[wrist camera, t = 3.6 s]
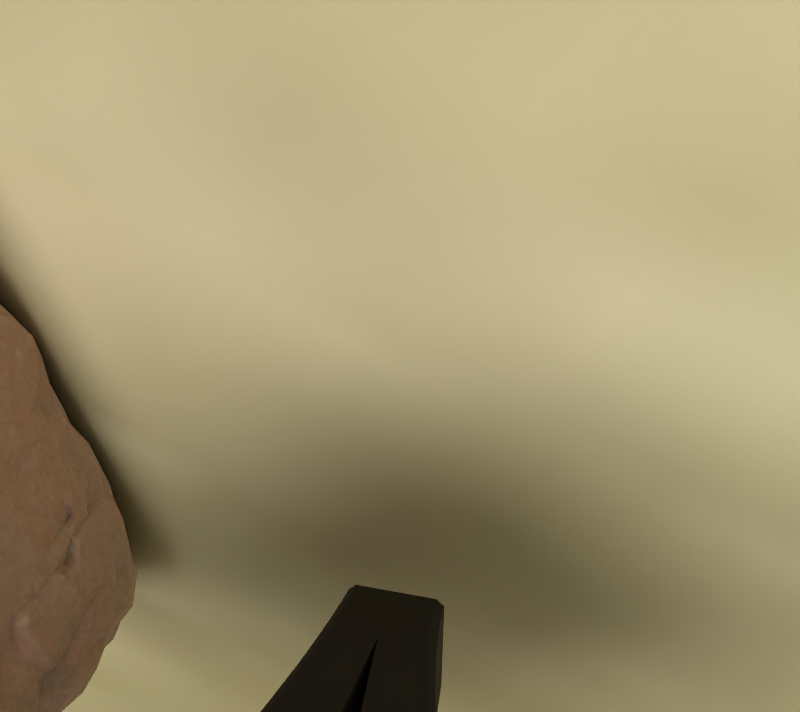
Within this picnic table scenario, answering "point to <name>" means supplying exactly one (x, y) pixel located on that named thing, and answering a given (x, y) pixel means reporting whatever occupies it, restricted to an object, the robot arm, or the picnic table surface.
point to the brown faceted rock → (52, 541)
